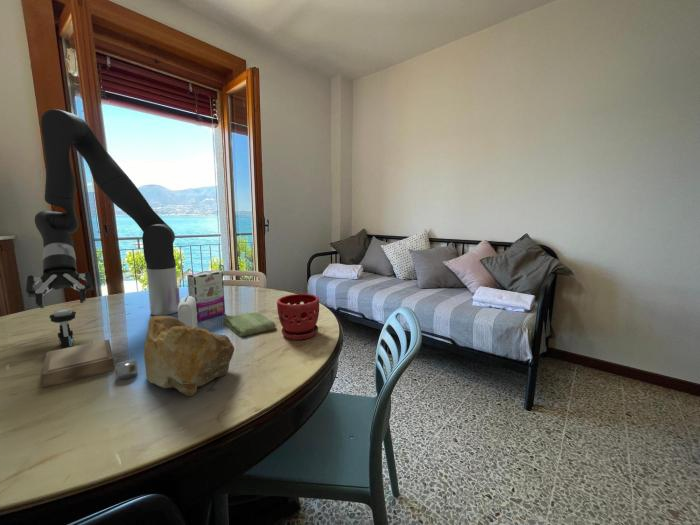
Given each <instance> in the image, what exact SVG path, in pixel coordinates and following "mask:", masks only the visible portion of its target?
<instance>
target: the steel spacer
mask: <svg viewBox="0 0 700 525" xmlns="http://www.w3.org/2000/svg"><path fill="white" fill-rule="evenodd" d="M137 361H138V360H135V359H128V360H123V361H120V362H118V363H116V364H114V370H115V378H116V380H117V381H127V380H130V379H133V378H135V377H137V375H138V374H139V373H138V372H139V371H138V364H137V363H138V362H137Z"/></svg>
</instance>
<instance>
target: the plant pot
mask: <svg viewBox="0 0 700 525" xmlns="http://www.w3.org/2000/svg"><path fill="white" fill-rule="evenodd" d="M276 306H277V309H276V310H277V315H278V319H279V323H280V325H281V327H282V328H281V334H282V335H283V337H285V338H287V339H289V340H296V341H298V340H299V341H300V340H304V339H309V338H311V337H314V336H315V335H316V334H317V333H318V331H319V326H318V325H317V324H318V323H317V322H318V321H319V314H320V298H319V296H317V295H315V294H310V293H294V294H293V293H292V294H287V295H285V296H284V295H283V296H282V297H280V298H278V299H277V302H276Z"/></svg>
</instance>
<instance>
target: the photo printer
mask: <svg viewBox="0 0 700 525" xmlns="http://www.w3.org/2000/svg"><path fill="white" fill-rule="evenodd" d="M177 319H178V320H179V321H181V322H182V323H184V324H185V325H186V326H188V327H190V328H195V327H198V326H199V325H198V321H197V309H196V300H195V298H194V297H192V296H189V295H188V296H187V295H186V296H184V297H182V298H181V300H180V303H179V305H178V312H177ZM198 328H199V327H198Z"/></svg>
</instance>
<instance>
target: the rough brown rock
mask: <svg viewBox="0 0 700 525" xmlns="http://www.w3.org/2000/svg"><path fill="white" fill-rule="evenodd" d="M234 352H235V347H234V344H233V343H232V341H231V340H230V338H229V336H227V335H226V334H218V333H214V332H211V331H210V330H209V329H205V328H203V327H195V328H190V327H188V326H186V325H185V324H184V323H182V322H181V321H179V320H178V317H174V316H170V315H169V316H168V315H152V316H151V317H150V318H149V320H148V326H147V331H146V338H145V342H144V347H143V354H144V357H143V359H144V360H143V361H144V365H145V367H144V368H145V376H146V380H147V381H149V383H151V384H155V385H156V386H158V387H160V388H162V389H171V388H173V389H174V388H175V389H176V390H177V391H178V392H179V393H181V394H183V395H184V396H187V397H192V396H194V394H196V393H197V392H198V388H199V387H202V386H205V385H206V384H208V383H209V382H212V380H214V379H215V378H219V377H223V376H225V375H227V374H228V372H229V368H230V367H229V366H230V363H231V360H232V358H233V355H234Z"/></svg>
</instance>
